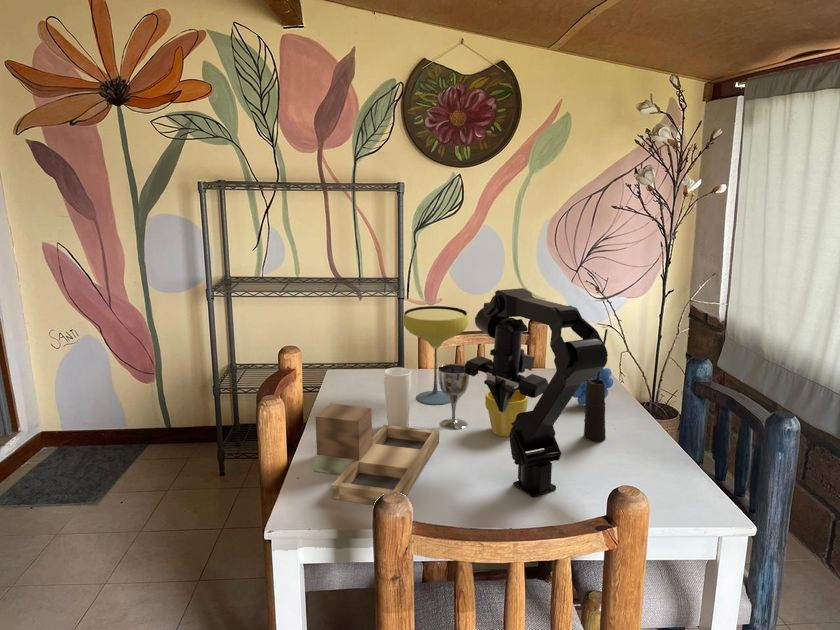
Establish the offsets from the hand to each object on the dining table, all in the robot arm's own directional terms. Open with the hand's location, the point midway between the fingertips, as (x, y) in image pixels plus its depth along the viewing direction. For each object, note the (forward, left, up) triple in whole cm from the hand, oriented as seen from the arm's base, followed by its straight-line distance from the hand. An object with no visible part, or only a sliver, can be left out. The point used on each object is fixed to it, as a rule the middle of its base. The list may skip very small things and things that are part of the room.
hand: (502, 411), depth 143 cm
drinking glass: (+28, +10, -12) cm, 32 cm away
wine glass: (+22, -3, -12) cm, 26 cm away
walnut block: (+19, +30, -9) cm, 36 cm away
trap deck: (+14, +26, -12) cm, 32 cm away
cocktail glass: (+40, -10, -12) cm, 43 cm away
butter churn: (-3, -26, -12) cm, 29 cm away
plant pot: (+11, -11, -12) cm, 20 cm away
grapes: (+12, -43, -12) cm, 47 cm away
